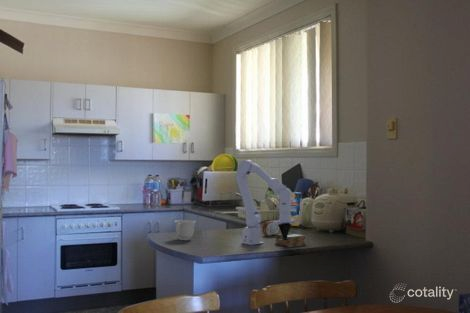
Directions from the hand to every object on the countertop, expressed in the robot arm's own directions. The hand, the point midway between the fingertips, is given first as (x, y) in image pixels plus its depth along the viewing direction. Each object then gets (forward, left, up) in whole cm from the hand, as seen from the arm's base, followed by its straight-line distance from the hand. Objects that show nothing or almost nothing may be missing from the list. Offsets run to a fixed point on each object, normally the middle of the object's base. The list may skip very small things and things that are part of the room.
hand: (284, 238), depth 264 cm
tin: (+19, +30, -4) cm, 36 cm away
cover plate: (+6, 0, -1) cm, 6 cm away
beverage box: (+62, +55, -4) cm, 83 cm away
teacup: (-33, +44, -4) cm, 55 cm away
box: (+4, 0, -4) cm, 6 cm away
